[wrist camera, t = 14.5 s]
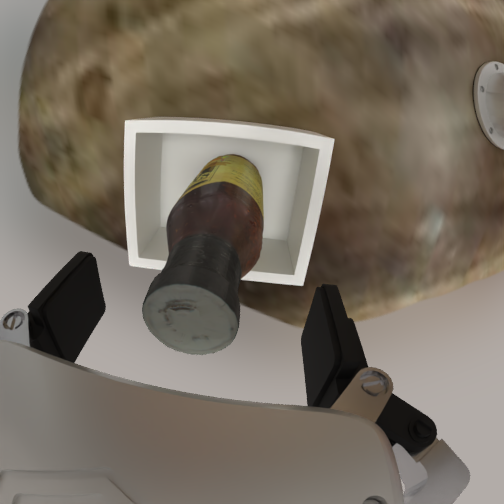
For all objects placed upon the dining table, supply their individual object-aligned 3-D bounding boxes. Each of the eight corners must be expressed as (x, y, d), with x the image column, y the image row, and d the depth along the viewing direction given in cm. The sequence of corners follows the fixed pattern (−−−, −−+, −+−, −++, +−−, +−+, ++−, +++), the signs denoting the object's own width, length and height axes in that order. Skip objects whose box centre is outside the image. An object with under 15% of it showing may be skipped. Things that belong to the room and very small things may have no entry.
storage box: (313, 131, 26) (334, 139, 19) (293, 245, 32) (302, 285, 25) (157, 116, 26) (125, 120, 19) (155, 230, 32) (129, 265, 25)
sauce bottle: (213, 143, 26) (128, 212, 9) (272, 166, 27) (303, 278, 10) (191, 201, 29) (109, 339, 11) (246, 222, 30) (235, 382, 12)
